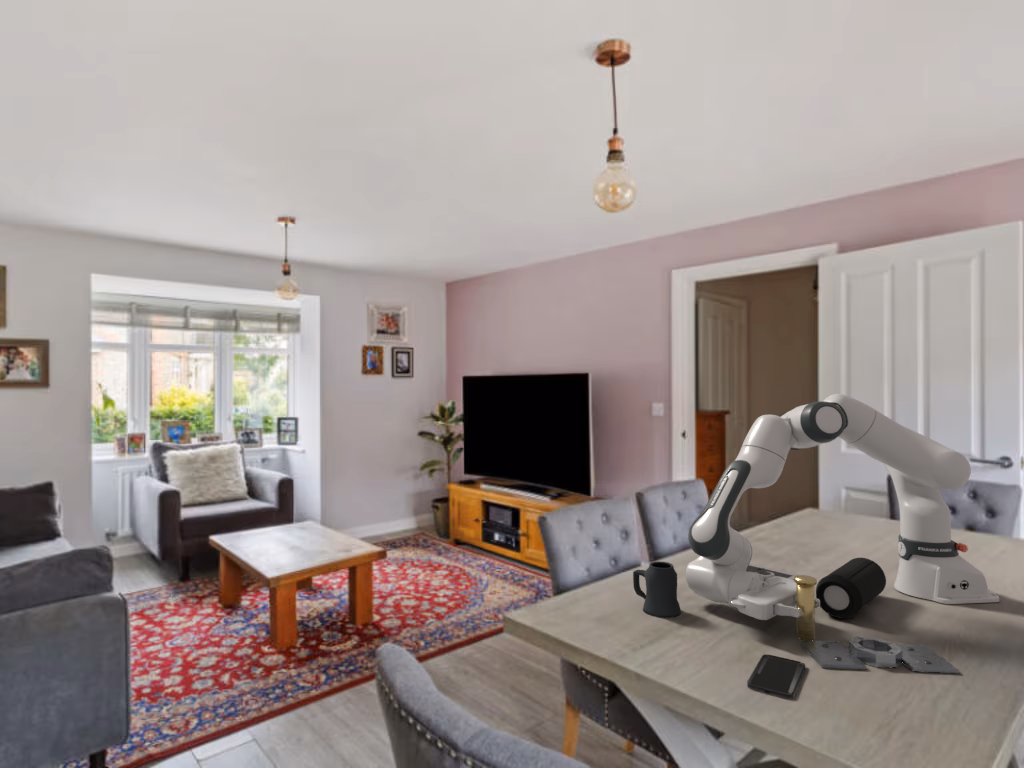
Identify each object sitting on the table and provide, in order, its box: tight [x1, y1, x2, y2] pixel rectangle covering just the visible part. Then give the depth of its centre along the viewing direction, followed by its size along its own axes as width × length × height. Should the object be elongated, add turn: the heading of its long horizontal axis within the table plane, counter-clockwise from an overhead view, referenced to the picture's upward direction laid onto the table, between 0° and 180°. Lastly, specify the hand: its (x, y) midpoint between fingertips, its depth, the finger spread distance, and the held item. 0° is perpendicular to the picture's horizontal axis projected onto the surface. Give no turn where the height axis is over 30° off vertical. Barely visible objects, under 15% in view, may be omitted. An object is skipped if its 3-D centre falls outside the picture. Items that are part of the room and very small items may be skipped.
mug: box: [632, 561, 682, 619], centre depth 147 cm, size 12×9×11 cm
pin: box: [794, 574, 818, 641], centre depth 130 cm, size 4×4×13 cm
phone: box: [746, 653, 806, 700], centre depth 112 cm, size 8×1×15 cm
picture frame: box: [747, 563, 798, 580], centre depth 171 cm, size 16×3×21 cm
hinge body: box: [800, 636, 959, 675], centre depth 120 cm, size 24×11×2 cm, turn 84°
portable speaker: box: [815, 557, 887, 619], centre depth 149 cm, size 26×10×10 cm, turn 134°
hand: (809, 608), depth 129 cm, fingers open, 7 cm apart
